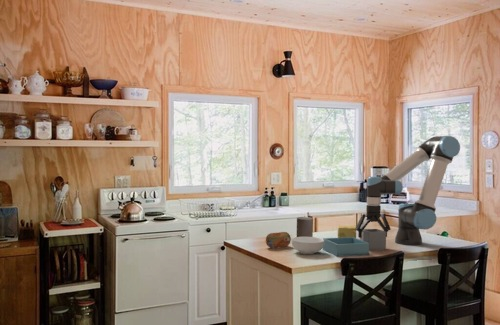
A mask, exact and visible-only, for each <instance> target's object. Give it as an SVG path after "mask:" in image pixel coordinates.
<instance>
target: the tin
mask: <svg viewBox="0 0 500 325" xmlns="http://www.w3.org/2000/svg"><path fill="white" fill-rule="evenodd" d="M291 242H292V237H291V235H290V234H289V233H288V232H286V231H279V232H270V233H268V234H267V235H266V237H265V244H266V246H267V247H269V248H270V249H279V248H281V249H282V248H285V247H288V246H289V245H290V244H291Z"/></svg>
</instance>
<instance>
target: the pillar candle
mask: <svg viewBox="0 0 500 325" xmlns="http://www.w3.org/2000/svg"><path fill="white" fill-rule="evenodd" d="M313 226H314V217H313V218H312V217H309V216H305V215H304V216H300V217H299V216H298V217H296V237H314V236H313V233H314V232H313V230H314V227H313Z"/></svg>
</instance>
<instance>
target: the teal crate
mask: <svg viewBox="0 0 500 325" xmlns="http://www.w3.org/2000/svg"><path fill="white" fill-rule="evenodd" d="M322 239H323V240H324V246H323V248H322V250H323V251H324V252H327V253H329V254H331V255H333V256H335V257H352V256H354V257H355V256H369V254H370V251H369V243H367V242H364V241H362V240H360V238H357V237H356V238H354V237H344V238H338V237H326V238H323V237H322Z"/></svg>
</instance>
